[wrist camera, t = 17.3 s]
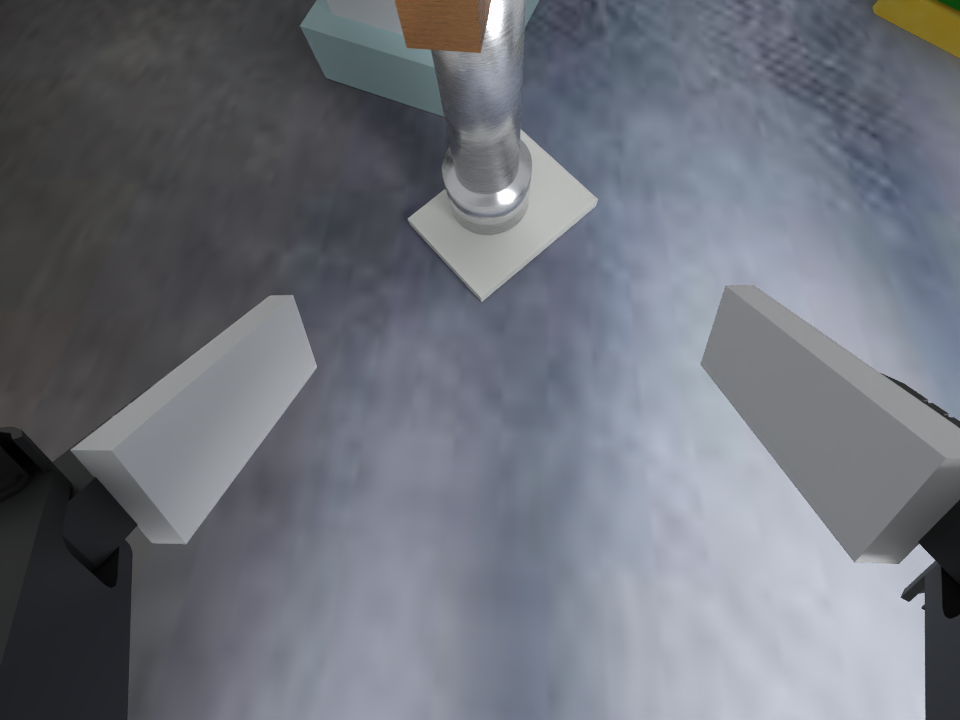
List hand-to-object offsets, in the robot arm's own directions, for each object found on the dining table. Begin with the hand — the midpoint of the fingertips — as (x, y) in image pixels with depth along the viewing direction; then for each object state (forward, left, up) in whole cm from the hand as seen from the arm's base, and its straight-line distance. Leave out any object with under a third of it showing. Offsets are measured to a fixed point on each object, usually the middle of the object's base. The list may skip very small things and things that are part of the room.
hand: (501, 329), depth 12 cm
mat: (-5, -6, -7) cm, 11 cm away
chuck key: (-5, -7, -6) cm, 11 cm away
